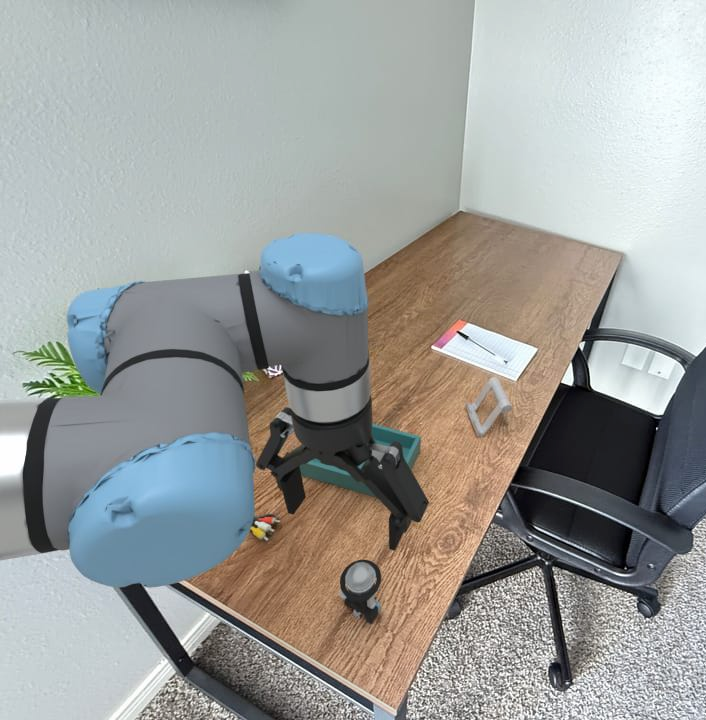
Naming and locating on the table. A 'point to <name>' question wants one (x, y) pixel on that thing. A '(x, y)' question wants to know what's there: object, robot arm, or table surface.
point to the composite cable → (264, 525)
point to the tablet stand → (502, 408)
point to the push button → (361, 588)
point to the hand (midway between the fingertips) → (346, 522)
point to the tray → (345, 480)
